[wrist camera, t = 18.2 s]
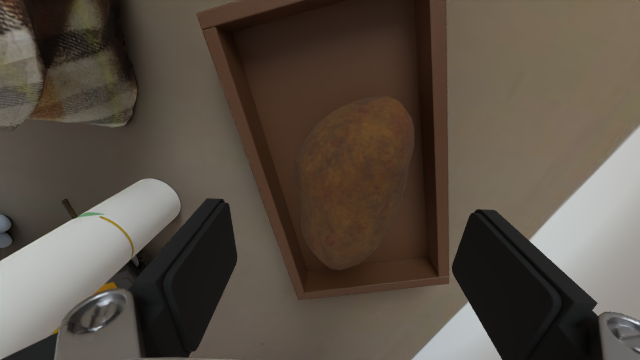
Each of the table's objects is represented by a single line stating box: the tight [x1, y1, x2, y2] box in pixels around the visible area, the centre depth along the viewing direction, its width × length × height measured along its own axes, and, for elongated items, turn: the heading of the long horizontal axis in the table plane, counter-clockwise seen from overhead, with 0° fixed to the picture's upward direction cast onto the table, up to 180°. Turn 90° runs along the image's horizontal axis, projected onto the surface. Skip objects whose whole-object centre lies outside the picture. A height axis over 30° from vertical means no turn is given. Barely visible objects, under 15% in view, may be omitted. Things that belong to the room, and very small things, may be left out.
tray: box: [197, 0, 449, 300], centre depth 18 cm, size 22×13×3 cm, turn 12°
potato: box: [294, 96, 414, 270], centre depth 16 cm, size 7×10×7 cm
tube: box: [0, 178, 181, 360], centre depth 15 cm, size 4×4×15 cm
